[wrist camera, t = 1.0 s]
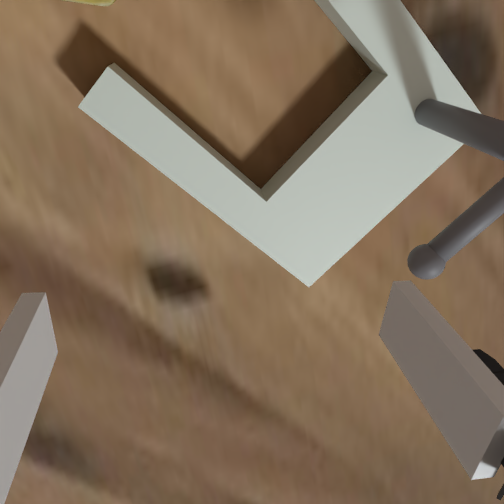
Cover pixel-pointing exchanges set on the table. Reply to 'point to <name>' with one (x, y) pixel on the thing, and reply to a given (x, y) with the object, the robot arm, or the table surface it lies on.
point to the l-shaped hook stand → (330, 150)
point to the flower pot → (94, 2)
